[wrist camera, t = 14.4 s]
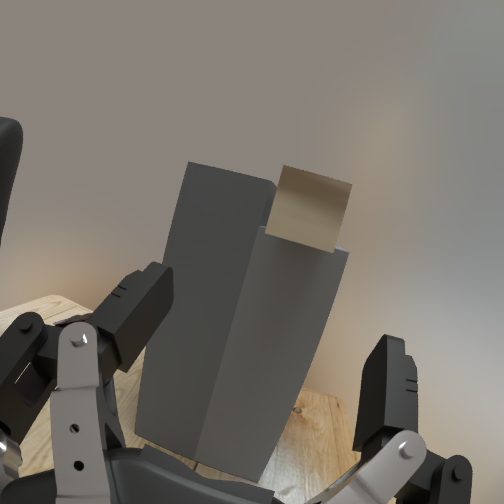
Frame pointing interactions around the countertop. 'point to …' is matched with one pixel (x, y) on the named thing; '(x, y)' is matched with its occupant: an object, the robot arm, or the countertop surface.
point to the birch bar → (308, 208)
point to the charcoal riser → (232, 325)
